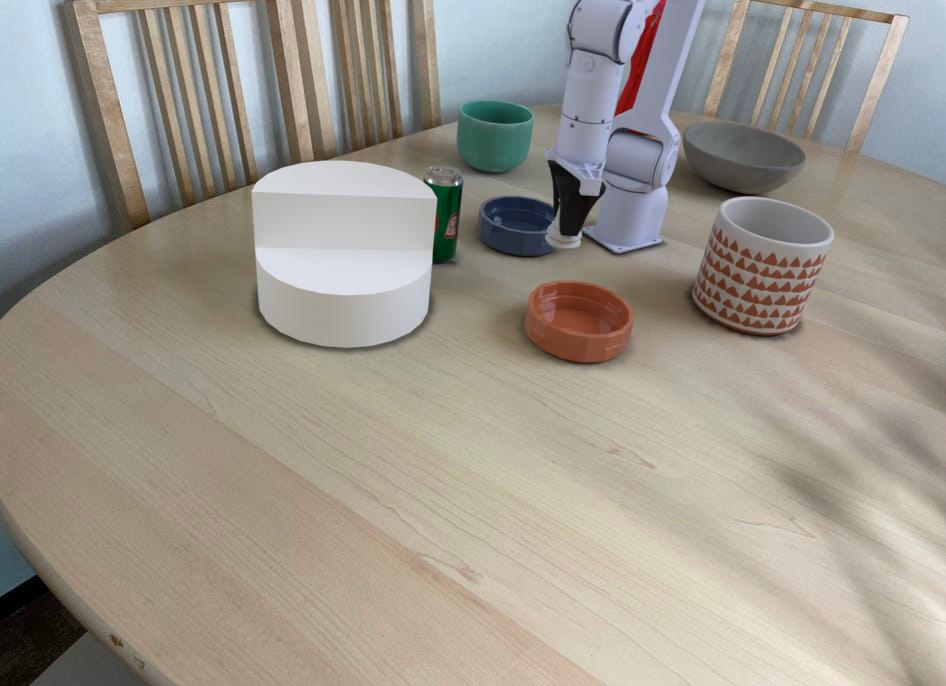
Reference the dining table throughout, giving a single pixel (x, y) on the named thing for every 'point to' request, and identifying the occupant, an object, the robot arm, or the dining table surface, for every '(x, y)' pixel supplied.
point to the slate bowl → (516, 225)
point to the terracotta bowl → (578, 321)
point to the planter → (761, 264)
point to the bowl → (742, 156)
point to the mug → (494, 134)
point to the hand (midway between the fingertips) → (565, 226)
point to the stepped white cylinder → (343, 251)
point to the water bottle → (640, 61)
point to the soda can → (445, 209)
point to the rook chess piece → (561, 236)
